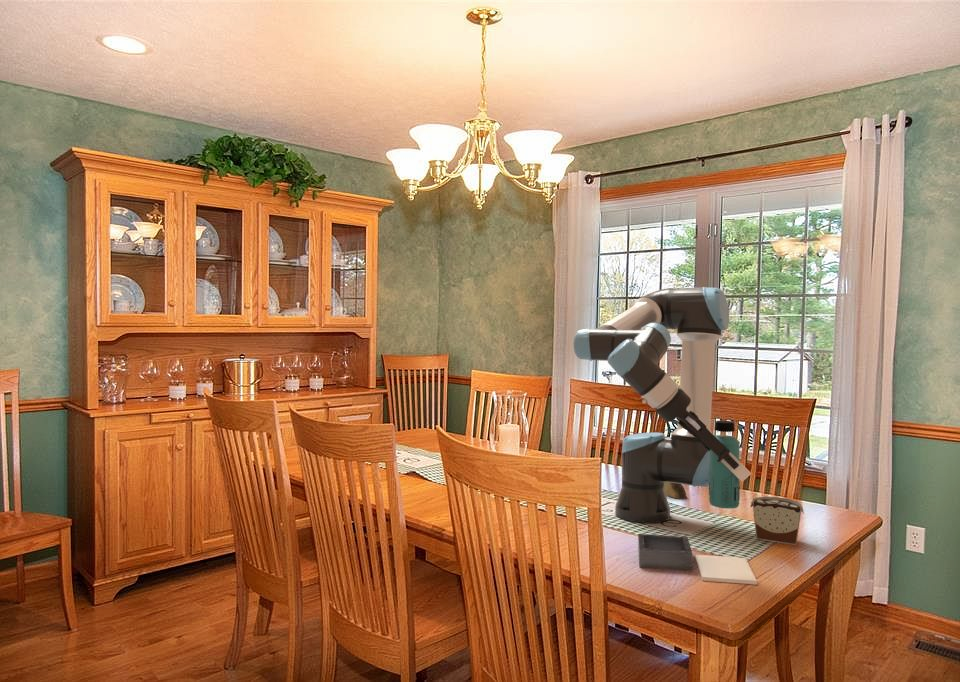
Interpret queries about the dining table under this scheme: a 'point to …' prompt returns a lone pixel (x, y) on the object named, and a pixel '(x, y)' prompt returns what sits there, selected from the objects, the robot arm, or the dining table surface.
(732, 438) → the beverage bottle
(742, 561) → the coaster pad
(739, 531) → the dining table surface
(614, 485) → the dining table surface
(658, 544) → the bottle holder
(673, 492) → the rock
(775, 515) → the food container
